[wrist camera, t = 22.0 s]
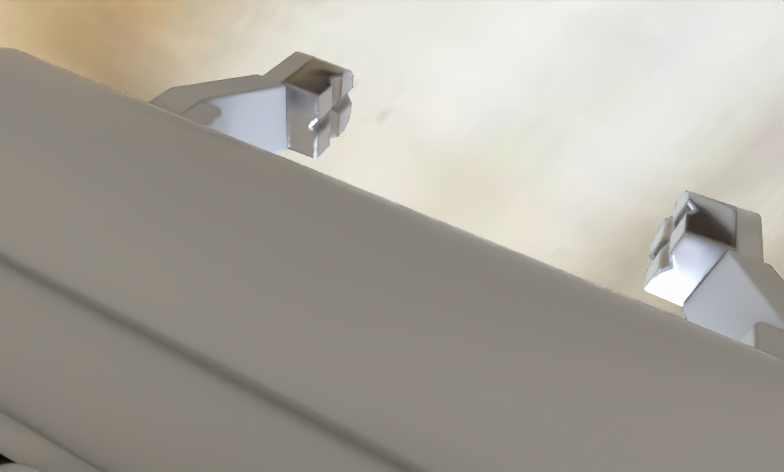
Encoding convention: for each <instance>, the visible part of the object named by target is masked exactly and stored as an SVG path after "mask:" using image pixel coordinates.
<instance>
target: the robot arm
mask: <svg viewBox="0 0 784 472" xmlns="http://www.w3.org/2000/svg"><path fill="white" fill-rule="evenodd" d="M352 88H353V74H352V72H351V70H348V69H345V68H343V67H340V66H337V65H335V64H332V63H329V62H327V61H324V60H322V59H319V58H316V57H314V56H311V55H308V54H305V53H302V52H295V53H293V54H292V55H291V56H289V57H288V58H286V59H285V60H284V61H282V62H281V63H280V64H278V65H277V66H276V67H274V68H273V69H272V70H270V71H269V72H267V73H266V74H265V75H263V76H260V75H250V76H244V77H237V78H231V79H224V80H218V81H211V82H205V83H198V84H192V85H185V86H179V87H172V88H170V89H168V90H167V91H165V92H164V93H162V94H161V95H159V96H157V97H156V98H154V99H153V100H151V101H150V102H145V101H143V100H140V99H138V98H135V97H133V96H130V95H128V94H126V93H123V92H121V91H118V90H116V89H113V88H111V87H108V86H106V85H103V84H101V83H98V82H96V81H93V80H91V79H88V78H86V77H83V76H81V75H79V74H76V73H74V72H71V71H69V70H66V69H64V68H61V67H59V66H56V65H54V64H51V63H49V62H47V61H44V60H42V59H40V58H37V57H35V56H33V55H30V54H28V53H26V52H23V51H20V50H17V49H13V48H7V47H0V472H784V280H783V279H782V278H781V277H780V276H779V274H778V273H777V272H776V271H775V270H774V268H773V267H772V266H771V265H769V264H766V263H764V259H763V241H762V223H761V216H760V215H759V214H758V213H755V212H751V211H748V210H745V209H742V208H739V207H736V206H732V205H729V204H726V203H723V202H720V201H717V200H714V199H711V198H708V197H705V196H702V195H699V194H696V193H693V192H690V191H685V192H684V193H683V194H682V195H681V196H680V198H679V199H678V201H677V202H676V204H675V209H674V216H671V217H669V218H666V219H665V220H664V222H663V224H662V225H661V227H660V229H659V230H658V232H657V234H656V236H655V239H654V241H653V244H652V247H651V251H650V258H651V260H652V261H653V262H652V263H651V265H650V266H649V268H648V269H647V274H646V281H645V287H644V290H646V291H648V292H650V293H653V294H655V295H657V296H660V297H662V298H664V299H667V300H669V301H671V302H674V303H676V304H679V305H681V306H682V307H681V308H682V310H683V312H684V314H685V316H686V318H687V320H688V321H687V320H685V319H682V318H680V317H677V316H675V315H672V314H670V313H667V312H665V311H662V310H660V309H658V308H655V307H653V306H650V305H648V304H645V303H643V302H640V301H638V300H635V299H633V298H630V297H628V296H625V295H623V294H620V293H618V292H615V291H613V290H611V289H608V288H606V287H603V286H601V285H598V284H596V283H593V282H591V281H588V280H586V279H583V278H581V277H578V276H576V275H573V274H571V273H568V272H566V271H563V270H561V269H559V268H556V267H554V266H551V265H549V264H546V263H544V262H541V261H539V260H536V259H534V258H531V257H529V256H526V255H524V254H521V253H519V252H516V251H514V250H511V249H509V248H507V247H504V246H502V245H499V244H497V243H494V242H492V241H489V240H487V239H484V238H482V237H479V236H477V235H474V234H472V233H469V232H467V231H464V230H462V229H459V228H457V227H455V226H452V225H450V224H447V223H445V222H442V221H440V220H437V219H435V218H432V217H430V216H427V215H425V214H422V213H420V212H417V211H415V210H412V209H410V208H408V207H405V206H403V205H400V204H398V203H395V202H393V201H390V200H388V199H385V198H383V197H380V196H378V195H375V194H373V193H370V192H368V191H365V190H363V189H360V188H358V187H356V186H353V185H351V184H348V183H346V182H343V181H341V180H338V179H336V178H333V177H331V176H328V175H326V174H323V173H321V172H318V171H316V170H313V169H311V168H309V167H306V166H304V165H301V164H299V163H296V162H294V161H291V160H289V159H286V158H284V157H281V156H279V155H276V153H279V152H282V151H285V150H287V148H288V149H291V150H293V151H296V152H299V153H301V154H304V155H307V156H310V157H312V158H315V159H317V158H318V157H319V156H320V155H321V154H322V153H323V152H324V151H325V150H326V149H327V148H328V147H329V146H330V138H334V137H338V136H339V135H340V134H341V133H342V132H343V131H344V129H345V127H346V125H347V123H348V121H349V117H350V113H351V105H352V103H351V101H350V99H349V97H348V95H347V93H348V92H349V91H350V90H351V89H352Z"/></svg>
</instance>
